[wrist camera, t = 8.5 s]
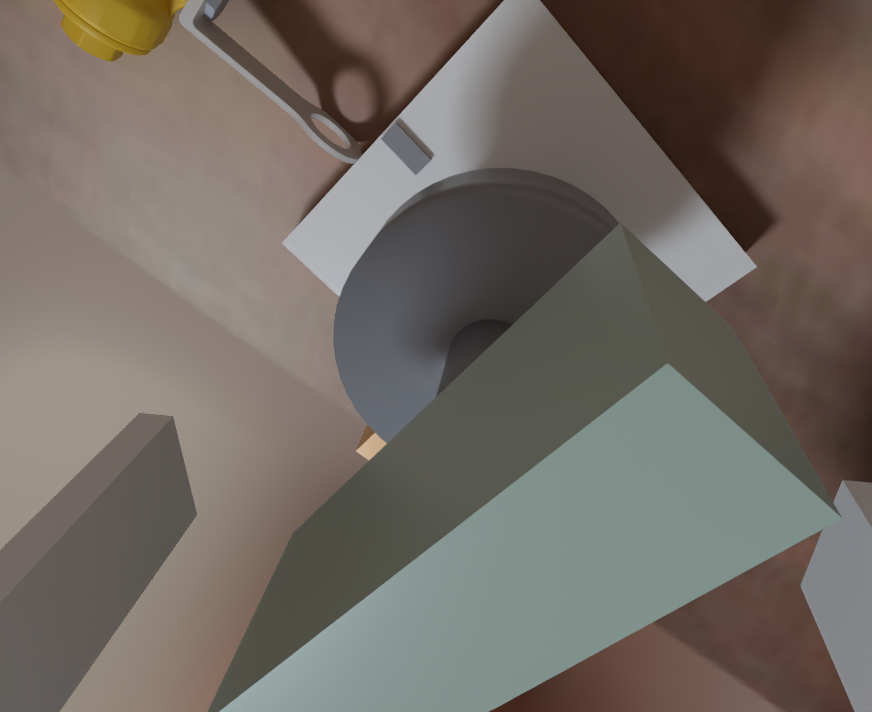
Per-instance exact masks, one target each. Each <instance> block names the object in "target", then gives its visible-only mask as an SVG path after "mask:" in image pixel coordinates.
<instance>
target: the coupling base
mask: <svg viewBox="0 0 872 712" xmlns="http://www.w3.org/2000/svg"><path fill="white" fill-rule="evenodd" d="M488 168H515V169H522V170H529V171H535V172H538V173H542V174H546V175H549V176H553V177H555V178H558V179H560V180H562V181H565V182H567V183H569V184H572V185H573V186H575V187H577V188H578V189H580V190H582V191H583V192H585V193H587V194H588V195H590V196H591V197H593V198H594V199H595V200H596V201H597V202H599V203H600V204H601V205H602V206H604V207H605V208H606V209H607V210H608V211H609V212H610V213H611V214H612V216H613V217H614V218H615V219H616V220H617V221H618V222H619V223H622V224H623V225H624V226H625V227H626V228H627V229H628V230H629V231H630V232H631V233H632V234H633V235H634V236H635V237H637V238H638V239H639V240H640V241H641V242H642V243H643V244H644V245H645V246H646V247H647V248H648V249H649V250H650V251H651V252H653V253H654V254H655V255H656V256H657V257H658V258H659V259H660V260H661V261H662V262H663V263H664V264H665V265H666V266H668V267H669V268H670V269H671V270H672V271H673V272H674V273H675V274H676V275H677V276H678V277H679V278H680V279H681V280H682V281H684V282H685V283H686V284H687V285H688V286H689V287H690V288H691V289H692V290H693V291H694V292H695V293H696V294H697V295H699V296H700V297H701V298H702V299H703V300H704V301H705V302H706V301H708V300H709V299H711V298H712V297H714V296H715V295H717V294H718V293H720V292H721V291H722V290H724V289H725V288H727V287H728V286H730V285H731V284H733V283H734V282H736V281H737V280H739V279H740V278H742V277H743V276H744V275H746V274H747V273H749V272H750V271H752V270H753V269H755V268H756V267H757V266H756V265H755V264H754V263H753V261H752V260H751V259H750V258H749V256H748V255H747V254H746V253H745V251H744V250H743V249H742V248H741V246H740V245H739V244H738V243H737V242H736V240H735V239H734V238H733V237H732V235H731V234H730V233H729V232H728V231H727V229H726V228H725V227H724V226H723V224H722V223H721V222H720V221H719V219H718V218H717V217H716V216H715V215H714V213H713V212H712V211H711V210H710V208H709V207H708V206H707V205H706V203H705V202H704V201H703V200H702V199H701V197H700V196H699V195H698V194H697V192H696V191H695V190H694V189H693V187H692V186H691V185H690V184H689V183H688V181H687V180H686V179H685V178H684V176H683V175H682V174H681V173H680V172H679V170H678V169H677V168H676V167H675V165H674V164H673V163H672V162H671V160H670V159H669V158H668V157H667V156H666V154H665V153H664V152H663V151H662V149H661V148H660V147H659V146H658V144H657V143H656V142H655V141H654V140H653V138H652V137H651V136H650V135H649V133H648V132H647V131H646V130H645V129H644V127H643V126H642V125H641V124H640V122H639V121H638V120H637V119H636V117H635V116H634V115H633V114H632V113H631V111H630V110H629V109H628V108H627V106H626V105H625V104H624V103H623V101H622V100H621V99H620V98H619V97H618V95H617V94H616V93H615V92H614V90H613V89H612V88H611V87H610V86H609V84H608V83H607V82H606V81H605V79H604V78H603V77H602V76H601V74H600V73H599V72H598V71H597V70H596V68H595V67H594V66H593V65H592V63H591V62H590V61H589V60H588V58H587V57H586V56H585V55H584V54H583V52H582V51H581V50H580V49H579V47H578V46H577V45H576V44H575V43H574V41H573V40H572V39H571V38H570V36H569V35H568V34H567V33H566V31H565V30H564V29H563V28H562V27H561V25H560V24H559V23H558V22H557V20H556V19H555V18H554V17H553V15H552V14H551V13H550V12H549V11H548V9H547V8H546V7H545V6H544V4H543V3H542V2H541V1H540V0H504V1H503V2H502V3H501V4H500V5H499V6H498V7H497V9H496V10H495V11H494V12H493V13H492V14H491V15H490V16H489V17H488V18H487V19H486V21H485V22H484V23H483V24H482V25H481V26H480V27H479V28H478V29H477V30H476V31H475V33H474V34H473V35H472V36H471V37H470V38H469V39H468V40H467V41H466V42H465V44H464V45H463V46H462V47H461V48H460V49H459V50H458V51H457V52H456V53H455V54H454V56H453V57H452V58H451V59H450V60H449V61H448V62H447V63H446V64H445V65H444V66H443V68H442V69H441V70H440V71H439V72H438V73H437V74H436V75H435V76H434V77H433V78H432V80H431V81H430V82H429V83H428V84H427V85H426V86H425V87H424V88H423V89H422V91H421V92H420V93H419V94H418V95H417V96H416V97H415V98H414V99H413V100H412V101H411V103H410V104H409V105H408V106H407V107H406V108H405V109H404V110H403V111H402V112H401V113H400V115H399V116H398V117H397V118H396V119H395V120H394V121H393V122H392V123H391V124H390V125H389V127H388V128H387V129H386V130H385V131H384V132H383V133H382V134H381V135H380V136H379V138H378V139H377V140H376V141H375V142H374V143H373V144H372V145H371V146H370V147H369V148H368V150H367V151H366V152H365V153H364V154H363V155H362V156H361V157H360V158H359V159H358V160H357V162H356V163H355V164H354V165H353V166H352V167H351V168H350V169H349V170H348V171H347V172H346V174H345V175H344V176H343V177H342V178H341V179H340V180H339V181H338V182H337V183H336V185H335V186H334V187H333V188H332V189H331V190H330V191H329V192H328V193H327V194H326V195H325V197H324V198H323V199H322V200H321V201H320V202H319V203H318V204H317V205H316V206H315V207H314V209H313V210H312V211H311V212H310V213H309V214H308V215H307V216H306V217H305V218H304V219H303V221H302V222H301V223H300V224H299V225H298V226H297V227H296V228H295V229H294V230H293V232H292V233H291V234H290V235H289V236H288V237H287V238H286V239H285V240H284V241H283V242H282V244H283V245H284V246H285V247H286V248H288V249H289V250H290V251H291V252H292V253H293V254H294V255H295V256H296V257H297V258H298V259H299V260H300V261H301V262H303V263H304V264H305V265H306V266H307V267H308V268H309V269H310V270H311V271H312V272H313V273H314V274H315V275H316V276H318V277H319V278H320V279H321V280H322V281H323V282H324V283H325V284H326V285H327V286H328V287H329V288H330V289H331V290H333V291H334V292H335V293H336V294H337V295H338V296H339V297H340V295H341V292H342V288H343V286H344V284H345V282H346V280H347V278H348V276H349V274H350V272H351V270H352V269H353V267H354V266H355V264H356V263H357V261H358V260H359V259H360V257H361V256H362V254H363V253H364V252H365V250H366V249H367V247H368V246H369V245H370V243H371V242H372V241H373V239H374V238H375V236H376V235H377V234H378V232H379V231H380V230H381V228H382V227H383V225H384V224H385V223H386V221H387V220H388V219H389V218H390V217H391V215H392V214H393V213H394V212H395V211H396V210H397V209H398V208H399V207H400V206H401V205H402V204H403V203H405V202H406V201H407V200H408V199H410V198H411V197H412V196H413V195H415V194H416V193H418V192H419V191H421V190H423V189H425V188H426V187H428V186H430V185H431V184H433V183H436V182H438V181H440V180H443V179H445V178H447V177H450V176H453V175H457V174H460V173H464V172H468V171H472V170H480V169H488Z"/></svg>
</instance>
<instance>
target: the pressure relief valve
mask: <svg viewBox="0 0 872 712" xmlns="http://www.w3.org/2000/svg"><path fill="white" fill-rule="evenodd" d="M228 1H229V0H54V2H55V3H56V5H57V6H58V7H59V9H60V10H61V11H62V12H63V13H64V14H65V15H64V18H63V20H62V22H61V26H62V28H63V30H64V31H65V33H66V34H67V36H68V37H69V38H70V39H71V40H72V41H73V42H74V43H75V44H77V45H78V46H79V47H80V48H82V49H83V50H85V51H86V52H88V53H90V54H92V55H93V56H96V57H98V58H100V59H103V60H107V61H114V60H116V59H118V58H120V57H121V56H122V54H123V52H124V53H128V54H132V55H146V54H148V53H149V52H150V51H151V50H152V49H155V48H156V47H157V46H158V45H159V44H161V43H163V41H164V39H165V37H166V36H167V34H168V32H169V30H170V29H171V27H172V20H173V18H174V16H175V13H176V12H177V11H178V10H179V9H181V8H183V7H184V8H183V10H182V12H181V14H180V15H179V21H180V23H181V25H182V26H183V27H185V28H186V29H187V30H188V31H189V32H191V33H192V34H193V35H194V36H196V37H197V38H198V39H199V40H200V41H202V42H203V43H204V44H205V45H206V46H208V47H209V48H210V49H211V50H212V51H214V52H215V53H216V54H217V55H219V56H220V57H221V58H222V59H223V60H225V61H226V62H227V63H228V64H229V65H231V66H232V67H233V68H234V69H236V70H237V71H238V72H239V73H240V74H242V75H243V76H244V77H245V78H246V79H248V80H249V81H250V82H251V83H253V84H254V85H255V86H256V87H257V88H259V89H260V90H261V91H262V92H263V93H265V94H266V95H267V96H268V97H270V98H271V99H272V100H273V101H274V102H276V103H277V104H278V105H279V106H280V107H282V108H283V109H284V110H285V111H287V112H288V113H289V114H290V115H291V116H292V117H293V118H294V119H295V120H296V121H297V122H298V123H299V125H300V126H301V127H302V128H303V130H304V131H305V132H306V133H307V134H308V136H309V137H310V138H311V139H312V140H314V141H315V142H316V143H317V144H318V145H319V146H320V147H321V148H323V149H324V150H325V151H326V152H328V153H329V154H331V155H332V156H334V157H335V158H337V159H339V160H341V161H343V162H346V163H350V164H354V163H356V162H357V160H358V159H359V158H360V157H361V150H360V147H359V145H358V144H357V142H356V141H355V139H354V138H353V137H352V136H351V135H350V134H349V133H348V132H347V131H346V130H345V129H344V128H343V127H342V126H340V125H339V124H338V123H337V122H336V121H335V120H334V119H333V118H332V117H331V116H330V115H329V114H327V113H326V112H325V111H323V110H321V109H320V108H318V107H316V106H314V105H312V104H311V103H309V102H308V101H306V100H305V99H303V98H302V97H301V96H300V95H298V94H297V93H296V92H295V91H294V90H292V89H291V88H290V87H289V86H288V85H286V84H285V83H284V82H283V81H282V80H280V79H279V78H278V77H277V76H276V75H275V74H273V73H272V72H271V71H270V70H269V69H267V68H266V67H265V66H264V65H263V64H262V63H260V62H259V61H258V60H257V59H256V58H254V57H253V56H252V55H251V54H250V53H248V52H247V51H246V50H245V49H244V48H243V47H241V46H240V45H239V44H238V43H237V42H235V41H234V40H233V39H232V38H231V37H229V36H228V35H227V34H226V33H225V32H224V31H222V30H221V29H220V28H219V27H218V26H216V25H215V24H214V23H213V22H212V21H213V20H215V19H216V18H217V17H218V16H219V14H220V13H221V12H222V10H223V9H224V8H225V6H226V4H227V3H228ZM311 118H314V119H317V120H319V121H321V122H323V123H324V124H326V125H327V126H328V127H330V128H331V129H332V130H333V131H334V132H335V133H336V134H337V135H338V136H339V137H340V138H341V139H342V140H343V142H344V143H345V145H346V147H347V149H344V148H342V147H339V146H337V145H336V144H334V143H333V142H331V141H330V140H329V139H327V138H326V137H325V136H324V135H323V134H322V133H321V132H320V131H319V130H318V129H317V128H316V127H315V125H314V123H313V122H312V120H311Z"/></svg>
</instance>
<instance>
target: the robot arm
mask: <svg viewBox="0 0 872 712" xmlns="http://www.w3.org/2000/svg"><path fill="white" fill-rule="evenodd" d="M833 503H834V504H835V506H836V508H837V510H838V511H839V513H840V515H841V517H842V519H840V520H839V521H837V522H835V523H833V524H831V525H829V526H828V527H826V528H824V529H823V530H822V533H821V535H820V538H819V540H818V543H817V545H816V548H815V550H814V553H813V555H812V558H811V560H810V563H809V565H808V568H807V570H806V573H805V575H804V578H803V581H802V583H801V588H802V591H803V593H804V595H805V598H806V600H807V602H808V605H809V607H810V609H811V612H812V614H813V616H814V619H815V621H816V623H817V626H818V628H819V630H820V633H821V635H822V637H823V639H824V642H825V644H826V646H827V649H828V651H829V653H830V656H831V658H832V660H833V663H834V665H835V667H836V670H837V672H838V674H839V677H840V679H841V681H842V683H843V686H844V688H845V690H846V693H847V695H848V697H849V700H850V702H851V704H852V707H853V709H854V711H855V712H872V483H869V482H858V481H848V480H842V482H841V485H840V487H839V490H838V492H837V495H836V497H835V500H834V502H833ZM196 515H197V513H196V508H195V504H194V500H193V496H192V492H191V488H190V484H189V480H188V476H187V472H186V468H185V463H184V459H183V456H182V451H181V447H180V443H179V439H178V435H177V431H176V427H175V423H174V419H173V416H164V415H154V414H144V413H139V414H138V415H137V416H136V417H135V418H134V419H133V420H132V421H131V422H130V423H129V424H128V425H127V426H126V427H125V428H124V429H123V430H122V431H121V432H120V433H119V434H118V435H117V436H116V437H115V438H114V439H113V440H112V441H111V442H110V443H109V444H108V445H107V446H106V447H105V448H104V449H103V450H102V451H101V452H99V454H97V455H96V456H95V457H94V458H93V459H92V460H91V461H90V463H88V464H87V465H86V466H85V467H84V468H83V469H82V470H81V471H80V473H78V474H77V475H76V476H75V477H74V478H73V479H72V480H71V481H70V482H69V483H68V484H67V485H66V486H65V487H64V488H63V489H62V490H61V491H60V492H59V493H58V494H57V495H56V496H55V497H54V498H53V499H52V500H51V501H50V502H49V503H48V504H47V505H46V506H45V507H44V508H43V509H42V510H41V511H40V512H39V513H38V514H36V516H34V517H33V518H32V519H31V520H30V521H29V522H28V524H26V525H25V526H24V527H23V528H22V529H21V530H20V531H19V532H18V533H17V534H16V535H15V536H14V537H13V538H12V539H11V540H10V541H9V542H8V543H7V544H6V545H5V546H4V547H3V548H2V549H1V550H0V712H59V711H60V710H61V708H62V707H63V706H64V704H65V703H66V701H67V700H68V699H69V697H70V696H71V694H72V693H73V691H74V690H75V689H76V687H77V686H78V684H79V683H80V682H81V680H82V678H83V677H84V676H85V674H86V673H87V672H88V670H89V669H90V667H91V666H92V664H93V663H94V661H95V660H96V658H97V657H98V656H99V654H100V653H101V651H102V650H103V649H104V647H105V646H106V644H107V643H108V641H109V640H110V639H111V637H112V635H113V634H114V632H115V631H116V630H117V629H118V627H119V626H120V624H121V623H122V621H123V620H124V619H125V617H126V616H127V614H128V613H129V611H130V610H131V609H132V607H133V606H134V604H135V603H136V601H137V600H138V599H139V597H140V596H141V594H142V593H143V591H144V590H145V589H146V587H147V585H148V584H149V583H150V581H151V580H152V579H153V577H154V576H155V574H156V572H157V571H158V570H159V568H160V567H161V566H162V564H163V563H164V561H165V560H166V558H167V557H168V556H169V554H170V553H171V551H172V550H173V548H174V547H175V546H176V544H177V543H178V541H179V540H180V538H181V537H182V536H183V534H184V533H185V531H186V530H187V528H188V527H189V525H190V524H191V523H192V521H193V520H194V518H195V517H196Z"/></svg>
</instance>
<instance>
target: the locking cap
mask: <svg viewBox="0 0 872 712" xmlns="http://www.w3.org/2000/svg"><path fill="white" fill-rule="evenodd" d="M334 350H335V358H336V363H337V366H338V370H339V374H340V378H341V380H342V382H343V385H344V387H345V390H346V392H347V394H348V396H349V398H350V400H351V401H352V403H353V405H354V406H355V408H356V410H357V411H358V413H359V414H360V415H361V417H362V418H363V419H364V421H365V422H366V423H367V426H366V429H365V431H364V434H363V436H362V438H361V440H360V443H359V445H358V447H357V450H356V451H357V452H358V453H359V454H361V455H362V456H363V457H365V458H366V459H367V460H369V461H368V462H367V463H366V464H365V465H364V466H363V467H362V468H361V469H360V470H359V471H358V472H357V473H356V474H354V475H353V476H352V478H350V479H349V480H348V481H347V482H346V483H345V484H344V485H343V486H342V487H341V488H340V489H339V490H338V491H336V492H335V493H334V494H333V495H332V496H331V497H330V498H329V499H328V500H327V501H326V502H325V503H324V504H323V505H322V506H321V507H320V508H319V509H317V511H315V512H314V513H313V514H312V515H311V516H310V517H309V518H308V519H307V520H306V521H305V522H304V523H303V524H302V525H301V526H300V527H298V528H297V529H296V530H295V531H294V532H293V534H292V536H291V538H290V540H289V542H288V544H287V546H286V548H285V550H284V552H283V555H282V557H281V559H280V561H279V563H278V565H277V567H276V569H275V572H274V574H273V576H272V578H271V580H270V582H269V584H268V586H267V588H266V590H265V592H264V594H263V597H262V599H261V601H260V603H259V605H258V607H257V609H256V612H255V613H254V616H253V618H252V620H251V622H250V624H249V626H248V628H247V630H246V632H245V634H244V637H243V639H242V641H241V643H240V645H239V647H238V649H237V651H236V653H235V655H234V657H233V660H232V662H231V664H230V666H229V668H228V670H227V672H226V674H225V676H224V679H223V681H222V683H221V685H220V687H219V689H218V691H217V693H216V696H215V697H214V699H213V701H212V704H211V706H210V708H209V710H208V712H489V711H491V710H493V709H495V708H496V707H498V706H500V705H502V704H504V703H505V702H508V701H509V700H511V699H513V698H515V697H516V696H518V695H520V694H522V693H524V692H526V691H527V690H529V689H531V688H533V687H535V686H537V685H539V684H540V683H542V682H544V681H546V680H548V679H549V678H551V677H553V676H555V675H557V674H559V673H561V672H562V671H564V670H566V669H568V668H570V667H572V666H573V665H575V664H577V663H579V662H581V661H582V660H584V659H586V658H588V657H590V656H592V655H593V654H595V653H597V652H599V651H601V650H602V649H604V648H606V647H608V646H610V645H611V644H614V643H615V642H617V641H619V640H621V639H623V638H625V637H626V636H628V635H630V634H632V633H634V632H636V631H637V630H639V629H641V628H643V627H645V626H647V625H648V624H650V623H652V622H654V621H656V620H657V619H659V618H661V617H663V616H665V615H667V614H668V613H670V612H672V611H674V610H676V609H678V608H679V607H681V606H683V605H685V604H687V603H689V602H690V601H692V600H694V599H696V598H698V597H700V596H701V595H703V594H705V593H707V592H709V591H711V590H712V589H714V588H716V587H718V586H720V585H722V584H723V583H725V582H727V581H729V580H731V579H732V578H734V577H736V576H738V575H740V574H742V573H743V572H745V571H747V570H749V569H751V568H753V567H754V566H756V565H758V564H760V563H762V562H764V561H765V560H767V559H769V558H771V557H773V556H775V555H776V554H778V553H780V552H782V551H784V550H786V549H787V548H789V547H791V546H793V545H795V544H797V543H798V542H800V541H802V540H804V539H806V538H807V537H809V536H811V535H813V534H815V533H817V532H818V531H820V530H822V529H824V528H826V527H828V526H829V525H831V524H833V523H835V522H837V521H839V520H840V519H842V517H841V515H840V513H839V511H838V510H837V508H836V506H835V504H834V503H833V501H832V499H831V497H830V496H829V494H828V492H827V490H826V489H825V487H824V485H823V483H822V482H821V480H820V478H819V476H818V475H817V473H816V471H815V469H814V468H813V466H812V464H811V463H810V461H809V459H808V457H807V456H806V454H805V452H804V450H803V449H802V447H801V445H800V443H799V442H798V440H797V438H796V436H795V435H794V433H793V431H792V429H791V428H790V426H789V424H788V422H787V421H786V419H785V417H784V415H783V414H782V412H781V410H780V408H779V407H778V405H777V403H776V401H775V400H774V398H773V396H772V394H771V393H770V391H769V389H768V387H767V386H766V384H765V382H764V380H763V379H762V377H761V375H760V373H759V372H758V370H757V368H756V367H755V365H754V363H753V361H752V360H751V358H750V356H749V354H748V353H747V351H746V349H745V347H744V346H743V344H742V342H741V340H740V339H739V337H738V335H737V333H736V332H735V330H734V328H733V327H732V326H731V325H730V324H728V323H727V322H726V321H725V320H724V319H723V318H722V317H721V316H720V315H719V314H718V313H717V312H716V311H715V310H713V309H712V308H711V307H710V306H709V305H708V304H707V303H706V302H705V301H704V300H703V299H702V298H701V297H700V296H699V295H697V294H696V293H695V292H694V291H693V290H692V289H691V288H690V287H689V286H688V285H687V284H686V283H685V282H684V281H682V280H681V279H680V278H679V277H678V276H677V275H676V274H675V273H674V272H673V271H672V270H671V269H670V268H669V267H668V266H666V265H665V264H664V263H663V262H662V261H661V260H660V259H659V258H658V257H657V256H656V255H655V254H654V253H653V252H651V251H650V250H649V249H648V248H647V247H646V246H645V245H644V244H643V243H642V242H641V241H640V240H639V239H638V238H637V237H635V236H634V235H633V234H632V233H631V232H630V231H629V230H628V229H627V228H626V227H625V226H624V225H623V224H622V223H619V222H618V221H617V220H616V219H615V218H614V217H613V216H612V214H611V213H610V212H609V211H608V210H607V209H606V208H605V207H604V206H602V205H601V204H600V203H599V202H597V201H596V200H595V199H594V198H593V197H591V196H590V195H588V194H587V193H585V192H583V191H582V190H580V189H578V188H577V187H575V186H573V185H572V184H569V183H567V182H565V181H562V180H560V179H558V178H555V177H553V176H549V175H546V174H542V173H538V172H535V171H529V170H522V169H515V168H488V169H480V170H472V171H468V172H464V173H460V174H457V175H453V176H450V177H447V178H445V179H443V180H440V181H438V182H436V183H433V184H431V185H430V186H428V187H426V188H425V189H423V190H421V191H419V192H418V193H416V194H415V195H413V196H412V197H411V198H410V199H408V200H407V201H406V202H405V203H403V204H402V205H401V206H400V207H399V208H398V209H397V210H396V211H395V212H394V213H393V214H392V215H391V217H390V218H389V219H388V220H387V221H386V223H385V224H384V225H383V227H382V228H381V230H380V231H379V232H378V234H377V235H376V236H375V238H374V239H373V241H372V242H371V243H370V245H369V246H368V247H367V249H366V250H365V252H364V253H363V254H362V256H361V257H360V259H359V260H358V261H357V263H356V264H355V266H354V267H353V269H352V270H351V272H350V274H349V276H348V278H347V280H346V282H345V284H344V286H343V288H342V292H341V295H340V298H339V301H338V304H337V308H336V314H335V320H334Z"/></svg>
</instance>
